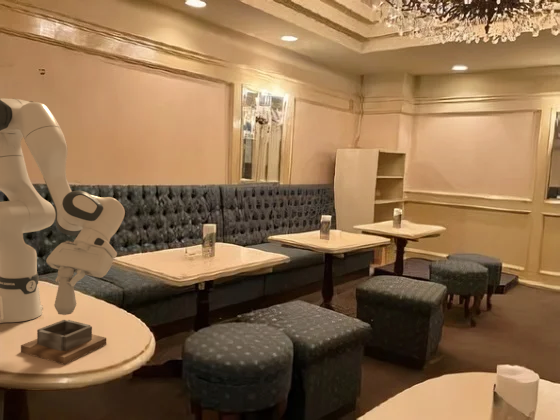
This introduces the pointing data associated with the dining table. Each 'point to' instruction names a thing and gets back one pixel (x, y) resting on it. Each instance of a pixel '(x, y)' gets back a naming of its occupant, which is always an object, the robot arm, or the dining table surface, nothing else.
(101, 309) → the dining table surface
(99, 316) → the dining table surface
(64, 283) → the beige round peg
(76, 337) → the walnut socket board
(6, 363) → the dining table surface
